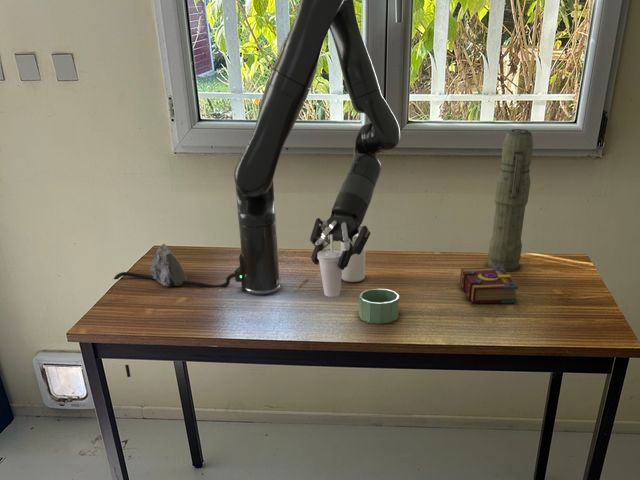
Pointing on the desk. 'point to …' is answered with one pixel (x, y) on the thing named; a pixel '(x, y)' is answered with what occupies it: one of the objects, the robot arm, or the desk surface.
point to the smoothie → (330, 270)
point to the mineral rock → (167, 268)
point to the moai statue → (511, 200)
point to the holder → (378, 306)
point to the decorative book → (488, 285)
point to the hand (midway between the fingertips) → (327, 265)
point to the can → (354, 265)
